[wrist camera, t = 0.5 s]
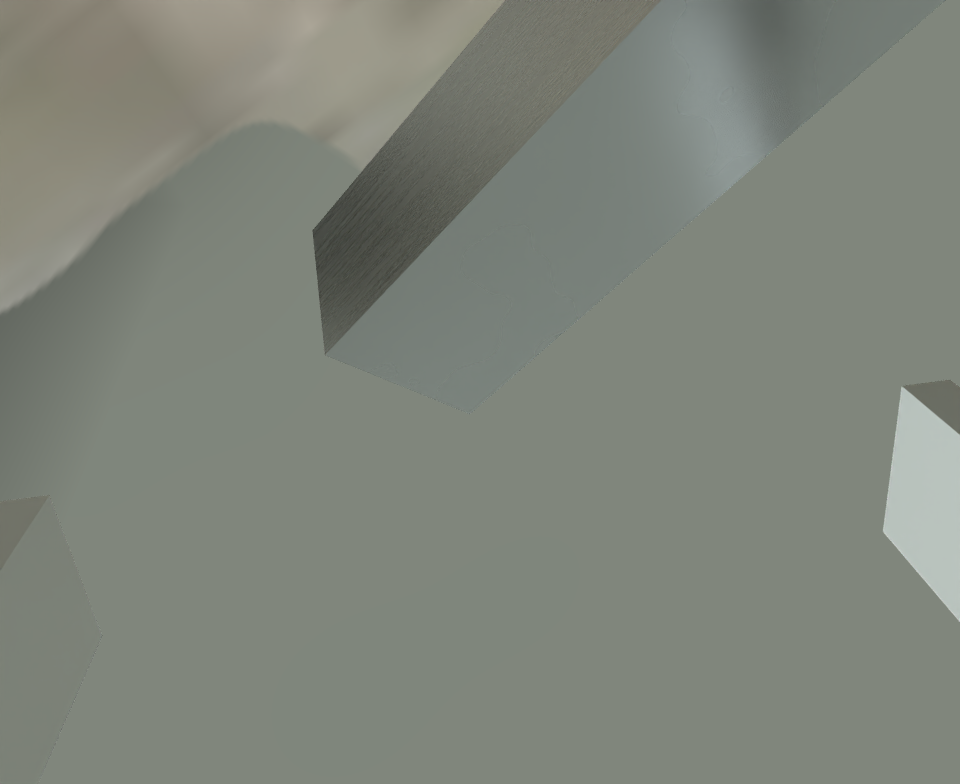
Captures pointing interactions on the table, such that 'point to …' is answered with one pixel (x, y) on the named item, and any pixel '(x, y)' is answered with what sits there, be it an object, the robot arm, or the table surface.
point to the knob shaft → (567, 170)
